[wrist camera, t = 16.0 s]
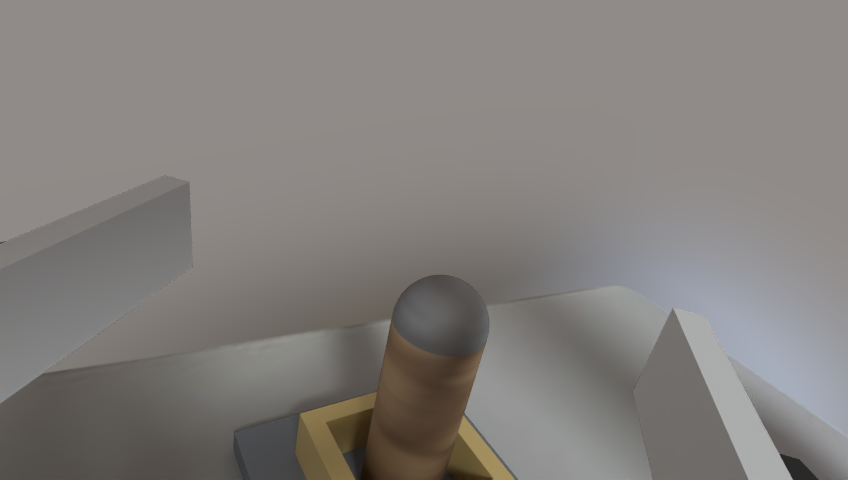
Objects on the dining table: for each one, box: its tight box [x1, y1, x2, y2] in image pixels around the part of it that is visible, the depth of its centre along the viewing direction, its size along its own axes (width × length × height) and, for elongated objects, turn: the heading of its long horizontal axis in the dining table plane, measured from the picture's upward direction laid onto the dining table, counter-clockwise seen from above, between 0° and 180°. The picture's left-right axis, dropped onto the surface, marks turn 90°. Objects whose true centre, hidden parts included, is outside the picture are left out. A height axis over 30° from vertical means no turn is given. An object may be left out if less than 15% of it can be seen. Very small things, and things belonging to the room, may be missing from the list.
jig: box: [234, 391, 518, 480], centre depth 31 cm, size 16×16×5 cm
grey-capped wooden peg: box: [360, 275, 489, 480], centre depth 28 cm, size 5×5×16 cm
